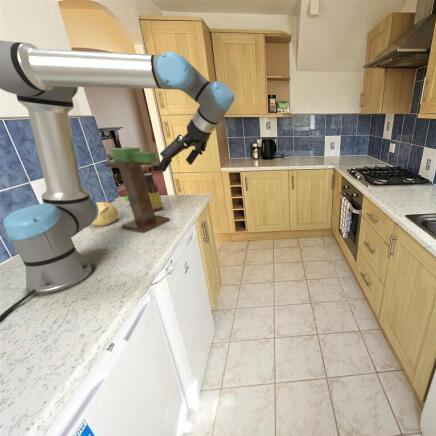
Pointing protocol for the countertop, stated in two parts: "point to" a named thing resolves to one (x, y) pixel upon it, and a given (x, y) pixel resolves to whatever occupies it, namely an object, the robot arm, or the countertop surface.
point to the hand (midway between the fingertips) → (175, 165)
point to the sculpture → (105, 214)
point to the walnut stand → (137, 196)
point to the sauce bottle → (153, 192)
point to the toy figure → (132, 155)
